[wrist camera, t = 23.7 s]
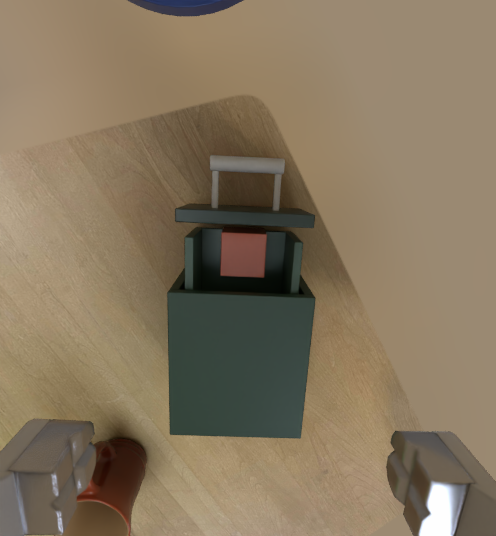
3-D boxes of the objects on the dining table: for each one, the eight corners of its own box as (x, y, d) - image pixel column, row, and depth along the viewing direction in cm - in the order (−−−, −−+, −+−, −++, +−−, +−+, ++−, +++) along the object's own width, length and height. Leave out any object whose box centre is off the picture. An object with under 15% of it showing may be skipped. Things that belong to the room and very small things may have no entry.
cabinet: (185, 265, 39) (167, 292, 30) (298, 270, 39) (315, 297, 30) (186, 379, 43) (169, 435, 33) (288, 383, 43) (300, 438, 34)
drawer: (189, 157, 35) (174, 150, 27) (304, 163, 35) (320, 157, 28) (189, 322, 40) (176, 355, 32) (290, 326, 40) (300, 359, 33)
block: (224, 226, 36) (221, 232, 31) (264, 228, 36) (267, 233, 31) (222, 265, 37) (220, 276, 33) (261, 266, 37) (264, 277, 33)
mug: (158, 478, 47) (135, 556, 37) (98, 481, 47) (60, 561, 37) (146, 408, 44) (118, 473, 34) (83, 412, 44) (36, 478, 34)
